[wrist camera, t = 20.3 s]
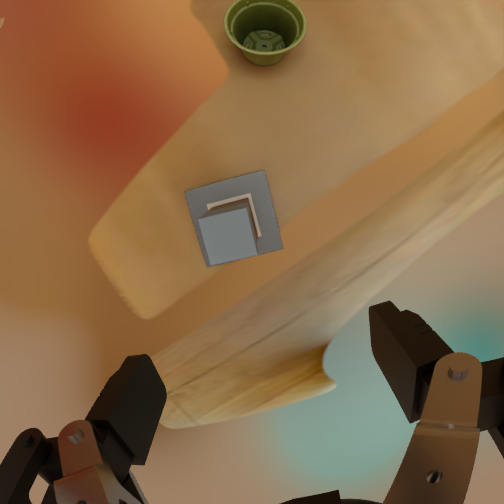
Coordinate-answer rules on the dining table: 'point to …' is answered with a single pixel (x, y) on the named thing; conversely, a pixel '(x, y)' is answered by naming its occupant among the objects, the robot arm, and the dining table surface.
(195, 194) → the plate
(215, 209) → the walnut block
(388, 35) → the dining table surface
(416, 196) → the dining table surface
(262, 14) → the plant pot
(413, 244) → the dining table surface
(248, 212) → the blue block
